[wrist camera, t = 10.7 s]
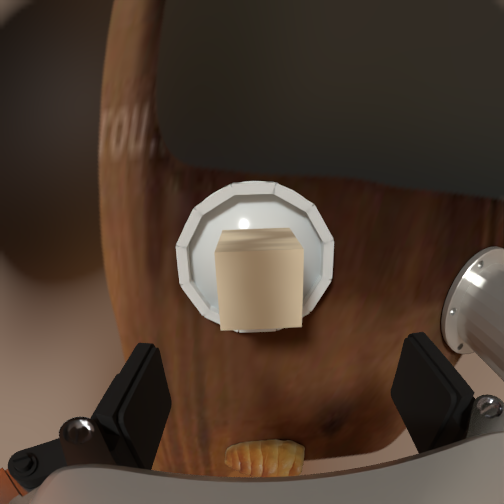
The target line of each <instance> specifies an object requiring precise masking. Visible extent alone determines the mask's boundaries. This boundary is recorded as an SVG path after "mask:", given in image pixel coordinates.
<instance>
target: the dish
mask: <svg viewBox="0 0 504 504" xmlns="http://www.w3.org/2000/svg"><path fill="white" fill-rule="evenodd" d="M263 228H290V229H291V231H292V232H293V234H294V235H295V237H296V238H297V240H298V241H299V243H300V244H301V246H302V247H303V249H304V271H303V306H302V317H304V316H306V315H307V314H309V313H310V312H309V311H311V312H312V310H313V309H314V307H315V306H316V304H317V303H318V301H319V300H320V298H321V296H322V295H323V293H324V292H325V290H326V289H327V287H328V286H329V284H330V282H331V279H332V273H333V255H334V241H333V240H334V239H333V237H332V236H331V234H330V232H329V230H328V228H327V226H326V224H325V223H324V221H323V219H322V217H321V215H320V214H319V212H318V210H317V208H316V206H315V205H314V204H313V203H311V202H310V201H308V200H306V199H305V198H304V197H302V196H301V195H299V194H298V193H296V192H295V191H293V190H291V189H289V188H287V187H285V186H282V185H280V184H278V183H276V182H265V181H246V182H240V183H232V184H229V185H228V186H226V187H224V188H222V189H220V190H218V191H216V192H214V193H213V194H211V195H210V196H209V197H207V198H206V199H205V200H204V201H203V202H201V203H200V204H198V205H197V206H196V207H195V208H194V209H193V210H192V213H191V215H190V217H189V219H188V221H187V222H186V224H185V226H184V229H183V231H182V233H181V235H180V237H179V240H178V242H177V244H176V245H177V246H176V254H177V264H178V273H179V282H180V284H181V287H182V289H183V290H184V292H185V293H186V294H187V296H188V297H189V298H190V300H191V301H192V302H193V304H194V305H195V306H196V308H197V309H198V310H199V312H200V313H201V314H202V316H203V315H204V317H205V318H207V319H210V320H212V321H214V322H216V323H218V324H220V316H219V305H218V293H217V281H216V268H215V255H214V252H215V249H216V247H217V244H218V241H219V238H220V236H221V233H222V230H237V229H263ZM276 329H277V330H280V329H282V328H274V329H252V330H239V333H245V332H271V331H276ZM233 331H236V332H238V330H233Z"/></svg>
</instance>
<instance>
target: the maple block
mask: <svg viewBox="0 0 504 504" xmlns="http://www.w3.org/2000/svg"><path fill="white" fill-rule="evenodd" d="M214 255H215V268H216V281H217V293H218V305H219V316H220V327H221V330H252V329H274V328H291V327H302V306H303V271H304V249H303V247H302V246H301V244H300V243H299V241H298V240H297V238H296V237H295V235H294V234H293V232H292V231H291V229H290V228H263V229H237V230H222V233H221V236H220V238H219V241H218V244H217V247H216V249H215V252H214Z"/></svg>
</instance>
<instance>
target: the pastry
mask: <svg viewBox="0 0 504 504" xmlns="http://www.w3.org/2000/svg"><path fill="white" fill-rule="evenodd" d="M304 450H305V448H304V446H302V445H300V444H298V443H296V442H294V441H291V440H287V441H281V440H278V439H274V440H260V441H250V442H242V443H239V444H236V445H232V446H230V447H229V448H227V450H226V453H225V464H226V465H227V466H229V467H230V468H232V469H233V470H236V471H239V472H240V473H242V474H249V475H250V476H252V477H285V476H299V475H300V473H301V472H302V466H303V461H304Z"/></svg>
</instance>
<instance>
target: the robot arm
mask: <svg viewBox="0 0 504 504" xmlns="http://www.w3.org/2000/svg"><path fill="white" fill-rule="evenodd" d="M441 329H442V334H443V338H444V340H445V342H446V344H447V345H448V346H449V347H450V348H451V349H452V350H453V351H455V352H456V353H460V354H470V353H473V352H475V353H476V354H478V356H479V357H480V358H481V359H483V360H484V361H485V362H486V363H487V364H488V366H489V367H490V368H491V369H492V370H493V371H494V372H495V373H496V374H497V375H498V376H499V377H500V378H501V379H502V380H503V381H504V249H503V248H500V247H489V248H486V249H483V250H482V251H480V252H479V253H477V254H476V255H474V256H473V257H472V258H471V259H470V260H469V261H468V262H467V263H466V264H465V266H464V267H463V268H462V269H461V271H460V272H459V274H458V275H457V277H456V278H455V280H454V282H453V284H452V286H451V288H450V290H449V292H448V295H447V298H446V300H445V304H444V308H443V311H442V319H441ZM473 395H474V392H473V390H472V389H471V388H470V386H469V385H468V384H467V383H466V381H465V380H464V379H463V378H462V377H461V375H460V374H459V373H458V372H457V370H456V369H455V368H454V367H453V366H452V364H451V363H450V362H449V361H448V360H447V358H446V357H445V356H444V355H443V354H442V353H441V351H440V350H439V349H438V348H437V347H436V346H435V345H434V343H433V342H432V341H431V340H430V339H429V338H428V337H427V335H426V334H425V333H424V332H419V333H412V334H409V336H408V338H405V340H404V343H403V347H402V351H401V355H400V359H399V363H398V367H397V371H396V374H395V378H394V381H393V385H392V388H391V397H392V399H393V401H394V403H395V405H396V407H397V409H398V411H399V413H400V415H401V417H402V419H403V421H404V423H405V425H406V427H407V430H408V432H409V434H410V436H411V438H412V440H413V442H414V444H415V446H416V448H417V450H418V453H419V454H416V455H413V456H409V457H405V458H401V459H398V460H393V461H389V462H385V463H380V464H376V465H371V466H366V467H360V468H355V469H349V470H343V471H336V472H328V473H320V474H311V475H299V476H285V477H251V478H246V477H244V478H243V477H242V478H241V477H214V476H200V475H188V474H178V473H169V472H161V471H154V470H151V469H152V465H153V462H154V459H155V456H156V453H157V449H158V446H159V443H160V440H161V437H162V434H163V431H164V428H165V424H166V421H167V418H168V415H169V412H170V409H171V397H170V393H169V389H168V385H167V381H166V377H165V372H164V368H163V364H162V359H161V355H160V350H159V348H155V346H154V344H150V343H138V344H137V346H136V347H135V349H134V350H133V352H132V354H131V355H130V357H129V359H128V360H127V362H126V363H125V365H124V367H123V368H122V370H121V372H120V373H119V374H117V375H116V376H115V378H114V380H113V381H112V383H111V385H110V386H109V388H108V389H107V391H106V393H105V394H104V396H103V398H102V400H101V401H100V403H99V404H98V406H97V408H96V410H95V411H94V413H93V415H92V416H91V418H87V417H75V418H72V419H69V420H67V421H66V422H65V423H64V424H63V425H62V426H61V427H60V430H59V438H58V439H55V440H52V441H50V442H46V443H43V444H40V445H37V446H34V447H31V448H28V449H24V450H21V451H18V452H16V453H15V454H14V455H12V456H11V458H10V460H9V462H8V469H6V470H4V469H3V468H1V469H0V504H504V403H503V401H501V399H499V398H497V397H495V396H492V395H482V396H479V397H477V398H476V399H475V398H474V397H473Z"/></svg>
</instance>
